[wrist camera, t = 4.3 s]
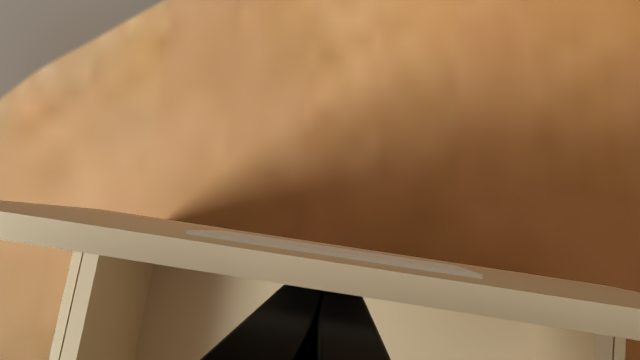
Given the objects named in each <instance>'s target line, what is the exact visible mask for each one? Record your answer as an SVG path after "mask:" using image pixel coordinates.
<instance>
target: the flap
mask: <svg viewBox="0 0 640 360" xmlns="http://www.w3.org/2000/svg"><path fill="white" fill-rule="evenodd" d="M0 239H1V240H7V241H13V242H20V243H26V244H32V245H39V246H45V247H51V248H57V249H64V250H70V251H76V252H83V253H89V254H95V255H102V256H108V257H114V258H121V259H127V260H133V261H140V262H146V263H152V264H159V265H165V266H171V267H178V268H184V269H190V270H197V271H203V272H209V273H215V274H222V275H228V276H234V277H241V278H247V279H253V280H260V281H266V282H272V283H279V284H285V285H291V286H298V287H304V288H310V289H317V290H323V291H329V292H336V293H342V294H348V295H354V296H361V297H367V298H373V299H380V300H386V301H392V302H399V303H405V304H411V305H418V306H424V307H430V308H437V309H443V310H449V311H456V312H462V313H468V314H475V315H481V316H487V317H493V318H500V319H506V320H512V321H519V322H525V323H531V324H538V325H544V326H550V327H557V328H563V329H569V330H576V331H582V332H588V333H595V334H601V335H607V336H614V337H620V338H626V339H633V340H639V341H640V292H635V291H631V290H626V289H621V288H617V287H612V286H607V285H600V284H594V283H587V282H580V281H574V280H567V279H560V278H554V277H547V276H540V275H534V274H527V273H520V272H514V271H507V270H500V269H494V268H487V267H480V266H474V265H467V264H460V263H454V262H447V261H440V260H434V259H427V258H420V257H414V256H407V255H400V254H394V253H387V252H380V251H374V250H367V249H360V248H354V247H347V246H340V245H334V244H327V243H320V242H314V241H307V240H300V239H294V238H287V237H280V236H274V235H267V234H260V233H254V232H247V231H240V230H234V229H227V228H220V227H214V226H207V225H200V224H194V223H187V222H180V221H174V220H167V219H160V218H154V217H147V216H140V215H134V214H127V213H120V212H114V211H107V210H100V209H90V208H79V207H68V206H56V205H45V204H34V203H23V202H11V201H0Z"/></svg>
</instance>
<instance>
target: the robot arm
mask: <svg viewBox="0 0 640 360" xmlns="http://www.w3.org/2000/svg"><path fill="white" fill-rule="evenodd" d="M200 360H391V359H390V356H389V354H388V352H387V350H386V347H385V345H384V343H383V341H382V339H381V336H380V334H379V332H378V330H377V327H376V325H375V323H374V321H373V319H372V316H371V314H370V312H369V310H368V308H367V305H366V303H365V301H364V299H363V297H361V296H354V295H348V294H342V293H336V292H329V291H323V290H317V289H310V288H304V287H298V286H291V285H285V284H284V285H283V286H282V287H281V288H280V289H278V290H277V291H276V292H275V293H274V294H273V295H272V296H271V297H269V298H268V299H267V300H266V301H265V302H264V303H263V304H262V305H261V306H259V307H258V308H257V309H256V310H255V311H254V312H253V313H252V314H250V315H249V316H248V317H247V318H246V319H245V320H244V321H243V322H241V323H240V324H239V325H238V326H237V327H236V328H235V329H234V330H232V331H231V332H230V333H229V334H228V335H227V336H226V337H225V338H224V339H222V340H221V341H220V342H219V343H218V344H217V345H216V346H215V347H213V348H212V349H211V350H210V351H209V352H208V353H207V354H206V355H204V356H203V357H202V358H201V359H200Z"/></svg>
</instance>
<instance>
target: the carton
mask: <svg viewBox="0 0 640 360" xmlns="http://www.w3.org/2000/svg"><path fill="white" fill-rule="evenodd" d="M283 285H284V284H279V283H272V282H266V281H260V280H253V279H247V278H241V277H234V276H228V275H222V274H215V273H209V272H203V271H197V270H190V269H184V268H178V267H171V266H165V265H159V264H152V263H146V262H140V261H133V260H127V259H121V258H114V257H108V256H102V255H95V254H89V253H83V252H76V251H73V254H72V258H71V263H70V267H69V272H68V276H67V281H66V285H65V289H64V294H63V298H62V303H61V307H60V312H59V316H58V320H57V325H56V329H55V334H54V338H53V343H52V347H51V352H50V356H49V360H200V359H201V358H202V357H203V356H204V355H206V354H207V353H208V352H209V351H210V350H211V349H212V348H213V347H215V346H216V345H217V344H218V343H219V342H220V341H221V340H222V339H224V338H225V337H226V336H227V335H228V334H229V333H230V332H231V331H232V330H234V329H235V328H236V327H237V326H238V325H239V324H240V323H241V322H243V321H244V320H245V319H246V318H247V317H248V316H249V315H250V314H252V313H253V312H254V311H255V310H256V309H257V308H258V307H259V306H261V305H262V304H263V303H264V302H265V301H266V300H267V299H268V298H269V297H271V296H272V295H273V294H274V293H275V292H276V291H277V290H278V289H280V288H281V287H282V286H283ZM363 299H364V301H365V303H366V305H367V308H368V310H369V312H370V314H371V316H372V319H373V321H374V323H375V325H376V327H377V330H378V332H379V334H380V336H381V339H382V341H383V343H384V345H385V347H386V350H387V352H388V354H389V356H390V359H391V360H625V352H626V338H620V337H614V336H607V335H601V334H595V333H588V332H582V331H576V330H569V329H563V328H557V327H550V326H544V325H538V324H531V323H525V322H519V321H512V320H506V319H500V318H493V317H487V316H481V315H475V314H468V313H462V312H456V311H449V310H443V309H437V308H430V307H424V306H418V305H411V304H405V303H399V302H392V301H386V300H380V299H373V298H367V297H363Z"/></svg>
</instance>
